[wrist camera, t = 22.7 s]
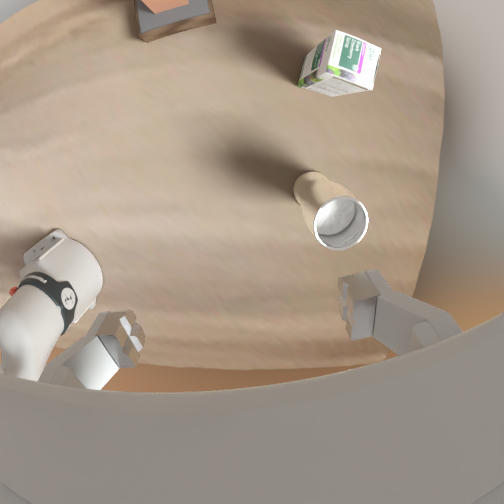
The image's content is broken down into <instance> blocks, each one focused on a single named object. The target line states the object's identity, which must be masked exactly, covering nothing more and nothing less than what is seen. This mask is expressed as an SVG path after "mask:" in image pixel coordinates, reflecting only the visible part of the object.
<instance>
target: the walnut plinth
mask: <svg viewBox="0 0 504 504" xmlns="http://www.w3.org/2000/svg"><path fill="white" fill-rule="evenodd" d="M188 1H189V4H187V5H183V6H180V7H176V8H173V9H170V10H166V11H163V12H160V13H157V14H154V13H153V12H152V11H151V10H150V9H149V8H148V7H147V6H146V5H145V4H144V3H143V2H142V1H141V0H134V5H135V12H136V20H137V26H138V33H139V38H141V39H142V40H144V41H145V42H147V43H148V42H151V41H153V40H156V39H159V38H162V37H165V36H169V35H172V34H175V33H179V32H182V31H186V30H189V29H193V28H197V27H201V26H205V25H210V24H214V23H216V18H215V14H214V9H213V5H212V0H188Z"/></svg>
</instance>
